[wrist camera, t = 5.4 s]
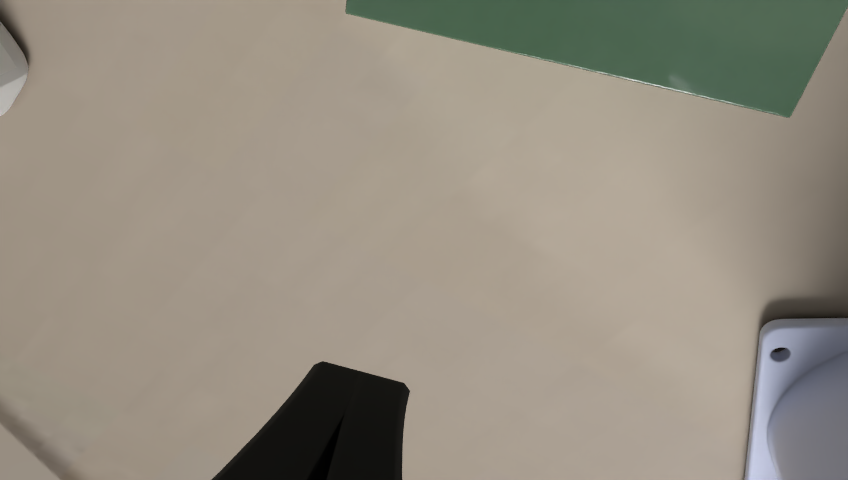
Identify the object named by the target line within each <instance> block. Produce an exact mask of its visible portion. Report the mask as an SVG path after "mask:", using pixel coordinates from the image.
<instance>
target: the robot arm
mask: <svg viewBox="0 0 848 480" xmlns="http://www.w3.org/2000/svg"><path fill="white" fill-rule="evenodd" d="M780 347H783V348H786V349H784V350H783V351H781V352H772V351H773V350H774V349H776V348H780ZM409 392H410V390H409V389H408V388H407V386H406V385H405V384H404V383H402V382H398V381H395V380H391V379H387V378H383V377H380V376H376V375H372V374H368V373H365V372H361V371H357V370H353V369H350V368H346V367H342V366H338V365H335V364H331V363H327V362H323V361H322V362H320V363H317V364H315V365H314V366H313V367H312V369H311V370H310V371H309V373H308V374H307V375H306V377H305V378H304V379H303V381H302V382H301V383H300V384H299V386H298V387H297V388H296V389H295V391H294V392H293V393H292V394H291V396H290V397H289V398H288V399H287V400H286V401H285V403H284V404H283V405H282V406H281V407H280V408H279V410H278V411H277V412H276V413H275V414H274V415H273V416H272V417H271V419H270V420H269V421H268V422H267V423H266V424H265V425H264V426H263V427H262V429H261V430H260V431H259V432H258V433H257V434H256V435H255V436H254V437H253V438H252V439H251V440H250V441H249V442H248V443H247V444H246V445H245V446H244V447H243V448H242V449H241V450H240V452H239V453H238V454H237V455H236V456H235V457H234V458H233V459H232V460H231V461H230V462H229V463H228V464H227V465H226V466H225V467H224V468H223V469H222V470H221V471H220V472H219V473H218V474H217V475H216V476H215V477H214V478H213V479H212V480H402V444H403V429H404V419H405V412H406V405H407V401H408V397H409ZM744 480H848V318H810V319H777V320H772V321H770V322H768V323H766V324H765V325H764V326H763V327H762V329H761V331H760V337H759V346H758V356H757V365H756V375H755V384H754V394H753V403H752V413H751V422H750V432H749V441H748V450H747V460H746V469H745V479H744Z"/></svg>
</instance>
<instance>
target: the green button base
mask: <svg viewBox="0 0 848 480" xmlns="http://www.w3.org/2000/svg"><path fill="white" fill-rule="evenodd" d="M847 7H848V0H347V1H346V10H345V11H346V13H347V14H350V15H354V16H359V17H363V18H367V19H371V20H375V21H380V22H384V23H388V24H392V25H397V26H401V27H405V28H409V29H414V30H418V31H422V32H426V33H431V34H435V35H439V36H443V37H448V38H452V39H456V40H460V41H465V42H469V43H473V44H477V45H482V46H486V47H490V48H494V49H499V50H503V51H507V52H511V53H515V54H520V55H524V56H528V57H532V58H537V59H541V60H545V61H549V62H554V63H558V64H562V65H566V66H571V67H575V68H579V69H583V70H588V71H592V72H596V73H600V74H605V75H609V76H613V77H617V78H622V79H626V80H630V81H634V82H639V83H643V84H647V85H651V86H655V87H660V88H664V89H668V90H672V91H677V92H681V93H685V94H689V95H694V96H698V97H702V98H706V99H711V100H715V101H719V102H723V103H728V104H732V105H736V106H740V107H745V108H749V109H753V110H757V111H762V112H766V113H770V114H774V115H779V116H783V117H787V118H788V117H791V115H792V113H793V111H794V109H795V107H796V105H797V103H798V101H799V100H800V98H801V96H802V94H803V92H804V90H805V88H806V86H807V84H808V82H809V80H810V78H811V77H812V75H813V73H814V71H815V69H816V67H817V65H818V63H819V61H820V59H821V57H822V55H823V53H824V52H825V50H826V48H827V46H828V44H829V42H830V40H831V38H832V36H833V34H834V32H835V30H836V28H837V27H838V25H839V23H840V21H841V19H842V17H843V15H844V13H845V11H846V9H847Z"/></svg>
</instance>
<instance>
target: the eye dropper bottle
mask: <svg viewBox="0 0 848 480" xmlns="http://www.w3.org/2000/svg"><path fill="white" fill-rule="evenodd" d="M28 68H29V67H28V64H27V61H26V59H25V56H24V54H23V52H22V51H21V49H20V47H19V46H18V44H17V43H16V41H15V40H14V39H13V37H12V36H11V34H10V33H9V32H8V31H7V29H6V28H5V27H4V25H3V24H2V23H1V22H0V116H1V115H2V114H4V113H6V112H7V111H8V110H9V108H10V107H11V105H12V104H13V102H14V101H15V99H16V97H17V96H18V94H19V92H20V91H21V89H22V87H23V86H24V84H25V82H26V80H27V75H28Z"/></svg>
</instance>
